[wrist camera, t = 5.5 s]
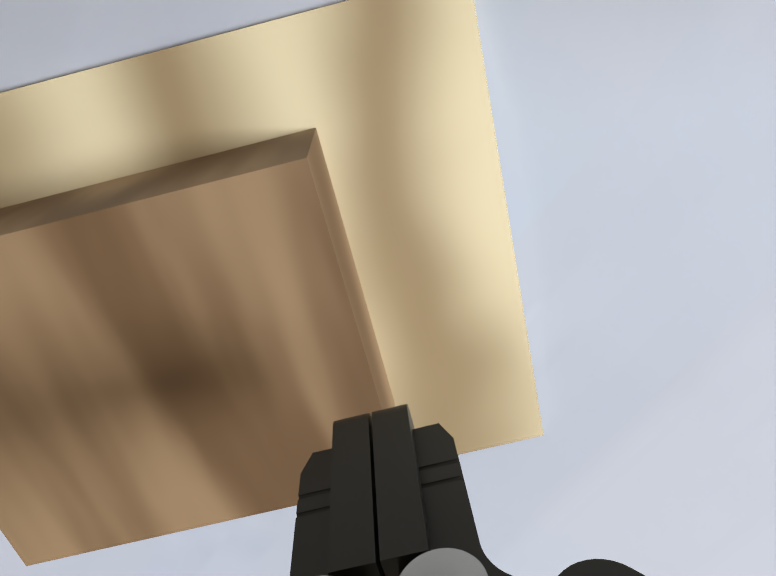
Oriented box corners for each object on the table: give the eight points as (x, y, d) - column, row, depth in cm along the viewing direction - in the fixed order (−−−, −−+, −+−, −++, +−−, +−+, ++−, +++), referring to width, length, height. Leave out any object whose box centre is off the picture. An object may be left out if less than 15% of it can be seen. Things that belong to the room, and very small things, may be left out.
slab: (306, 158, 14) (-177, 280, 14) (403, 481, 18) (26, 565, 18) (316, 127, 17) (-71, 226, 18) (394, 402, 22) (79, 475, 22)
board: (466, -32, 16) (469, -32, 16) (540, 428, 23) (543, 435, 23) (-214, 149, 17) (-226, 153, 17) (48, 540, 24) (43, 548, 24)
